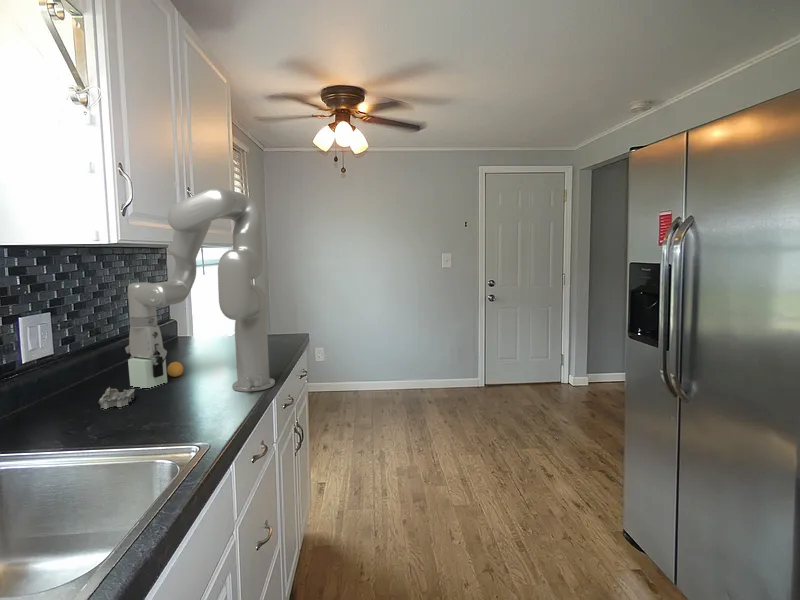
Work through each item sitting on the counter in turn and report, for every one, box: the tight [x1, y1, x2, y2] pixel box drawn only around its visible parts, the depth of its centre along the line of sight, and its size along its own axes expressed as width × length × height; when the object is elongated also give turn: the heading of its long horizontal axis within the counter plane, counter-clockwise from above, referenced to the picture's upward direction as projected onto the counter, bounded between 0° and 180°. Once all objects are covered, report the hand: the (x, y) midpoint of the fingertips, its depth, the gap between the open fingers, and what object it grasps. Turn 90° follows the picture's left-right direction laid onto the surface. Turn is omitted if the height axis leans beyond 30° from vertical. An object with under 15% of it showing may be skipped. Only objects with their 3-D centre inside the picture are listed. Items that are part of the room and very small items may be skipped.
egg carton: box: [98, 386, 136, 410], centre depth 138 cm, size 11×8×4 cm
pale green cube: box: [127, 357, 168, 389], centre depth 156 cm, size 8×8×9 cm
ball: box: [166, 361, 184, 378], centre depth 166 cm, size 5×5×5 cm
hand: (147, 374), depth 156 cm, fingers open, 9 cm apart
